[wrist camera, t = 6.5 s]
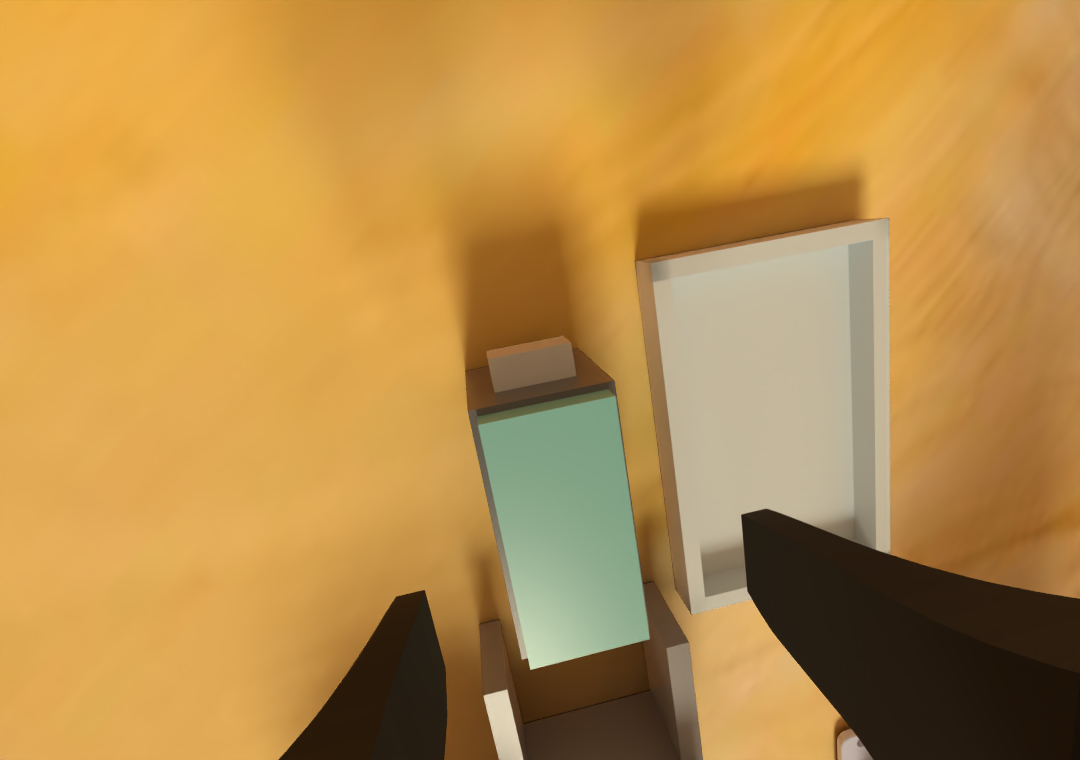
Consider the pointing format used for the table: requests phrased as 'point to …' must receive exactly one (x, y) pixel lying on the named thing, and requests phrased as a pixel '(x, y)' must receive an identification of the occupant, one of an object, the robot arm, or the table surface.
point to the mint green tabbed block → (558, 499)
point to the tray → (769, 393)
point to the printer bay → (603, 704)
